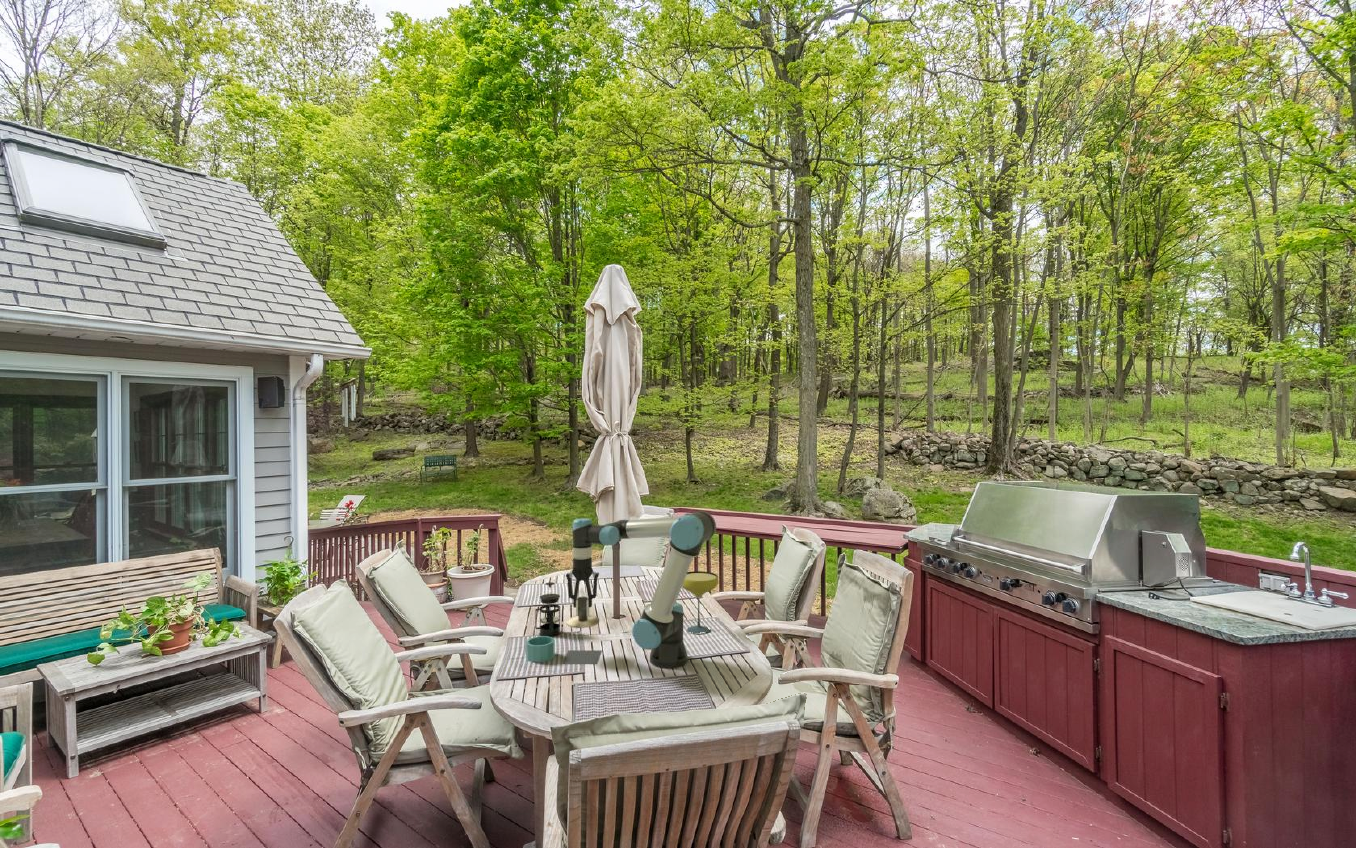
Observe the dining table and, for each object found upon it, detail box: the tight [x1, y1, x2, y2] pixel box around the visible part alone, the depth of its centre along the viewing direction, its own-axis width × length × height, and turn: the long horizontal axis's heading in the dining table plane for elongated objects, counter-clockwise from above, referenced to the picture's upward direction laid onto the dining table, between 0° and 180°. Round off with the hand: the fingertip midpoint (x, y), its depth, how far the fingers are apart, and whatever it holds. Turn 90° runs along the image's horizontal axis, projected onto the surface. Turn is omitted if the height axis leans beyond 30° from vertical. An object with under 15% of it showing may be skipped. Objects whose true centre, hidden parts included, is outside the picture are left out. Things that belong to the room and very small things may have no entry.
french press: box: [534, 581, 561, 638], centre depth 264 cm, size 12×9×23 cm
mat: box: [561, 649, 602, 665], centre depth 236 cm, size 14×14×1 cm
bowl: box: [525, 635, 556, 664], centre depth 236 cm, size 11×11×7 cm
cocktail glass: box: [681, 570, 719, 634], centre depth 268 cm, size 18×18×25 cm
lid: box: [566, 595, 600, 629], centre depth 236 cm, size 13×13×10 cm
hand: (582, 615), depth 236 cm, fingers closed on lid, 3 cm apart
